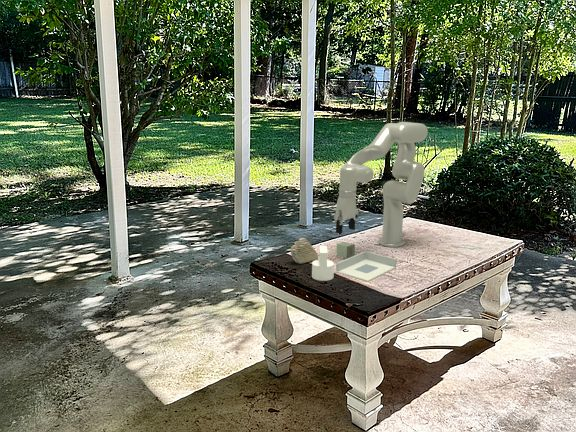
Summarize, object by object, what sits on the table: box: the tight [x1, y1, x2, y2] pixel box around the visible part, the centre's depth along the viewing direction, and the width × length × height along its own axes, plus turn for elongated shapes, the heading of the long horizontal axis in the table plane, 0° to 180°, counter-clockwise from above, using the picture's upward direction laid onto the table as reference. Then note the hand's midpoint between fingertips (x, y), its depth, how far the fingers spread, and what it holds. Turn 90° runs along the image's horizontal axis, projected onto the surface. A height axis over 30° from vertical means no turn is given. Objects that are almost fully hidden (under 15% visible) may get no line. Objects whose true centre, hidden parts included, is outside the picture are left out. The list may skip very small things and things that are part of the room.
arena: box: [335, 250, 398, 283], centre depth 233 cm, size 22×16×4 cm
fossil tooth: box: [289, 237, 319, 265], centre depth 242 cm, size 12×6×15 cm
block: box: [335, 241, 356, 259], centre depth 249 cm, size 5×7×6 cm, turn 48°
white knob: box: [311, 245, 335, 282], centre depth 224 cm, size 9×9×12 cm
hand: (345, 231), depth 246 cm, fingers open, 9 cm apart
